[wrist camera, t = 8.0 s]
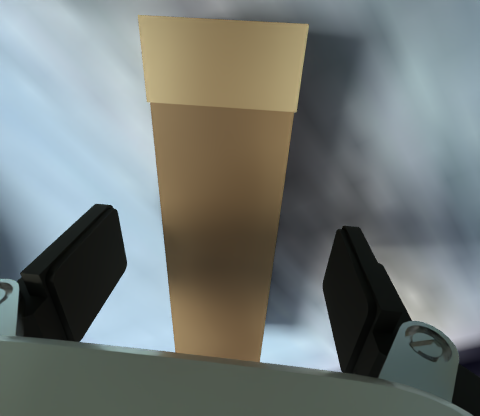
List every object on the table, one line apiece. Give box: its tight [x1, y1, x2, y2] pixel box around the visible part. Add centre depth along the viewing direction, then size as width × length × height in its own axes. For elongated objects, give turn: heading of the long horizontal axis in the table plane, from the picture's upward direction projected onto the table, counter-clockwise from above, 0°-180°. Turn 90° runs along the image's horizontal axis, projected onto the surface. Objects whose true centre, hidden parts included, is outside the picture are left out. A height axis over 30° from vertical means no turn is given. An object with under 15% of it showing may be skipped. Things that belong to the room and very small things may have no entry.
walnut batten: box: [138, 15, 309, 362], centre depth 12 cm, size 4×15×4 cm, turn 177°
